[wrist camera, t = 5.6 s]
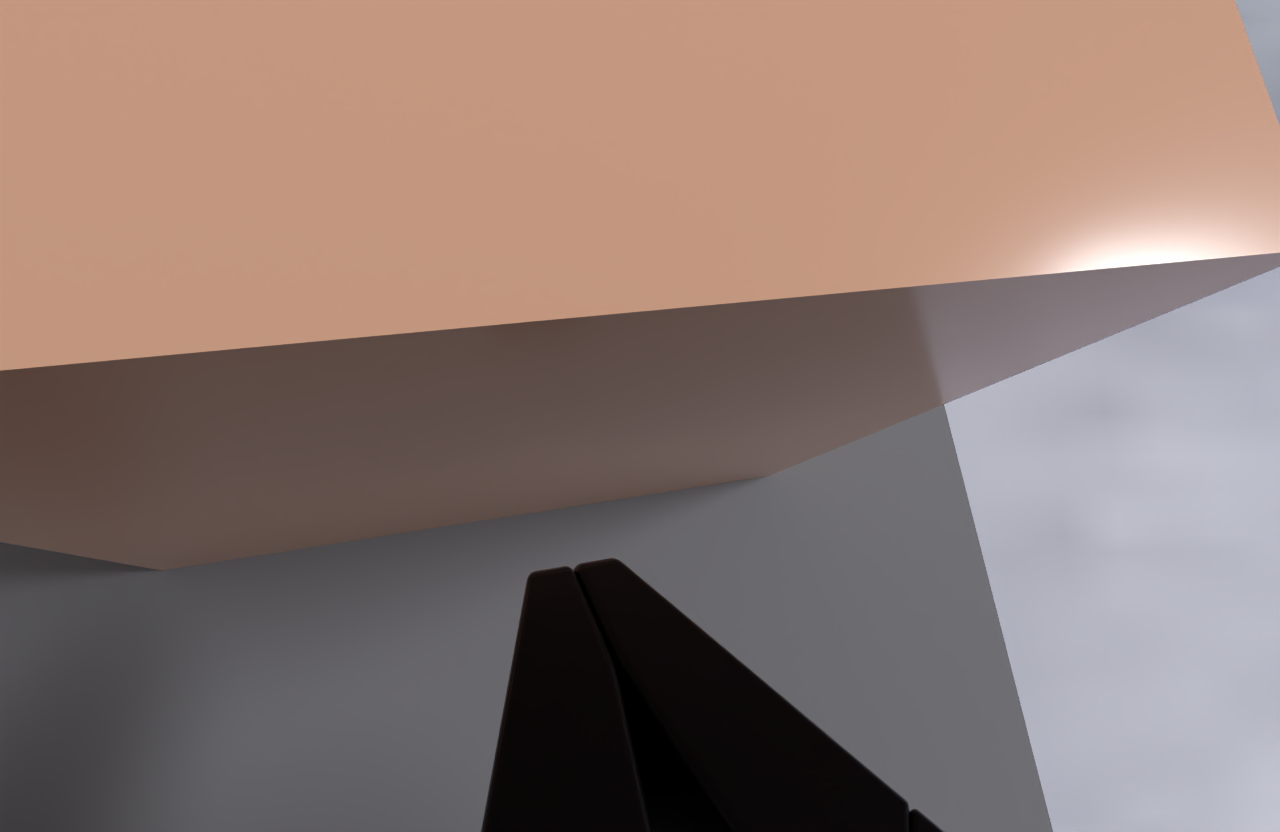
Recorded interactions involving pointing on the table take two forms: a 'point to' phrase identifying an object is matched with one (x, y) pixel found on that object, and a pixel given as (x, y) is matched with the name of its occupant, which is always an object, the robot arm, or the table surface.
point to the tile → (569, 242)
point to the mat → (506, 654)
